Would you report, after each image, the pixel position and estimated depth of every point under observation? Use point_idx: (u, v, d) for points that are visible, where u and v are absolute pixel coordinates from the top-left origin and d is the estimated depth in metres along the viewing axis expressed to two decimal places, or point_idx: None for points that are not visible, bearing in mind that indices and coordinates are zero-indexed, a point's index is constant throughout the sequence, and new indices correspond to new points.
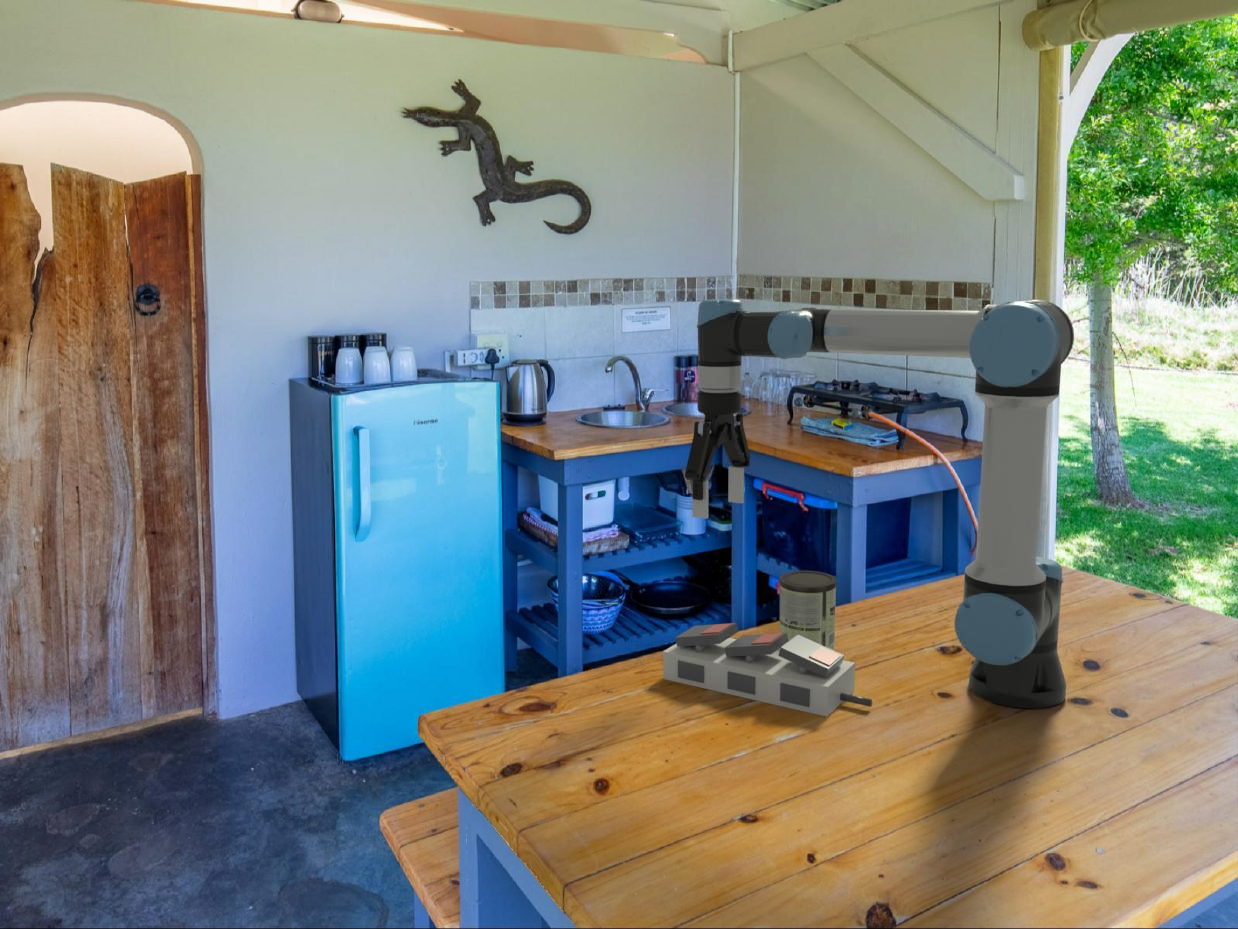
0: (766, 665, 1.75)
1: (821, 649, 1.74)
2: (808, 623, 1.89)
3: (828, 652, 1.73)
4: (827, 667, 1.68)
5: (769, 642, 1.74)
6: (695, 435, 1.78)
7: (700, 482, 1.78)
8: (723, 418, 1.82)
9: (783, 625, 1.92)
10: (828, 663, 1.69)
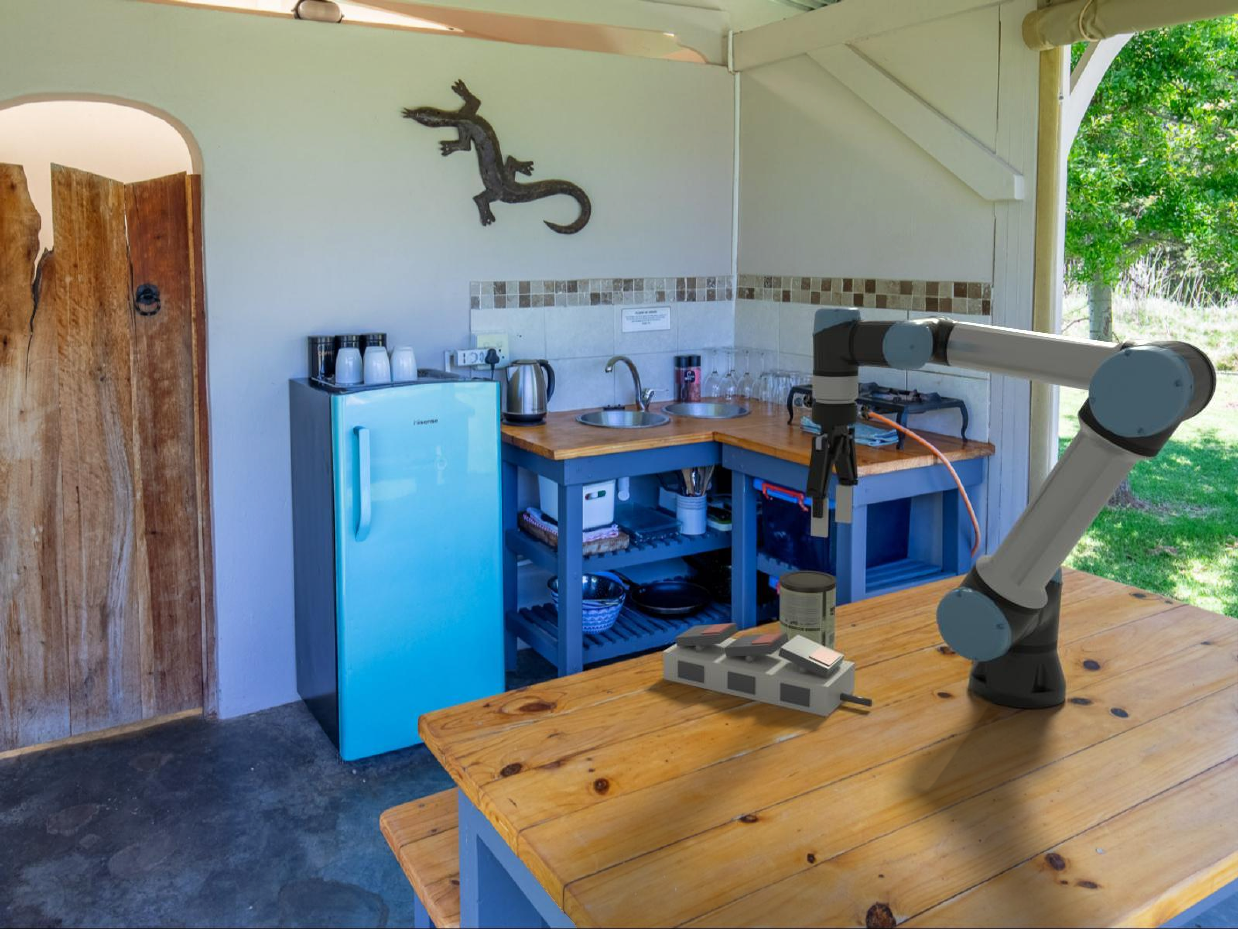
0: (766, 665, 1.75)
1: (821, 649, 1.74)
2: (808, 623, 1.89)
3: (828, 652, 1.73)
4: (827, 667, 1.68)
5: (769, 642, 1.74)
6: (812, 450, 1.73)
7: (821, 500, 1.73)
8: (839, 429, 1.76)
9: (783, 625, 1.92)
10: (828, 663, 1.69)
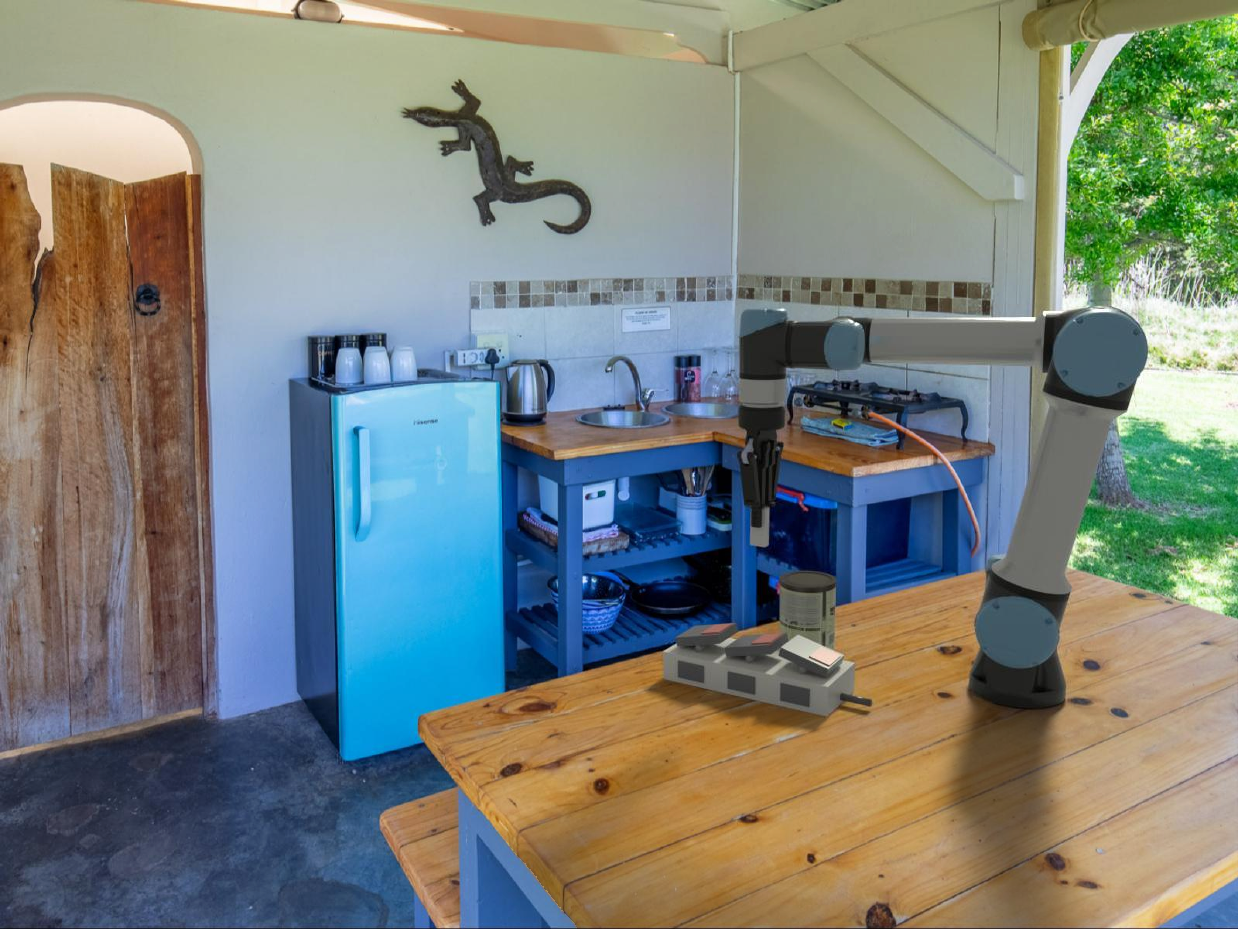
0: (766, 665, 1.75)
1: (821, 649, 1.74)
2: (808, 623, 1.89)
3: (828, 652, 1.73)
4: (827, 667, 1.68)
5: (769, 642, 1.74)
6: (741, 464, 1.69)
7: (759, 509, 1.72)
8: (766, 434, 1.71)
9: (783, 625, 1.92)
10: (828, 663, 1.69)
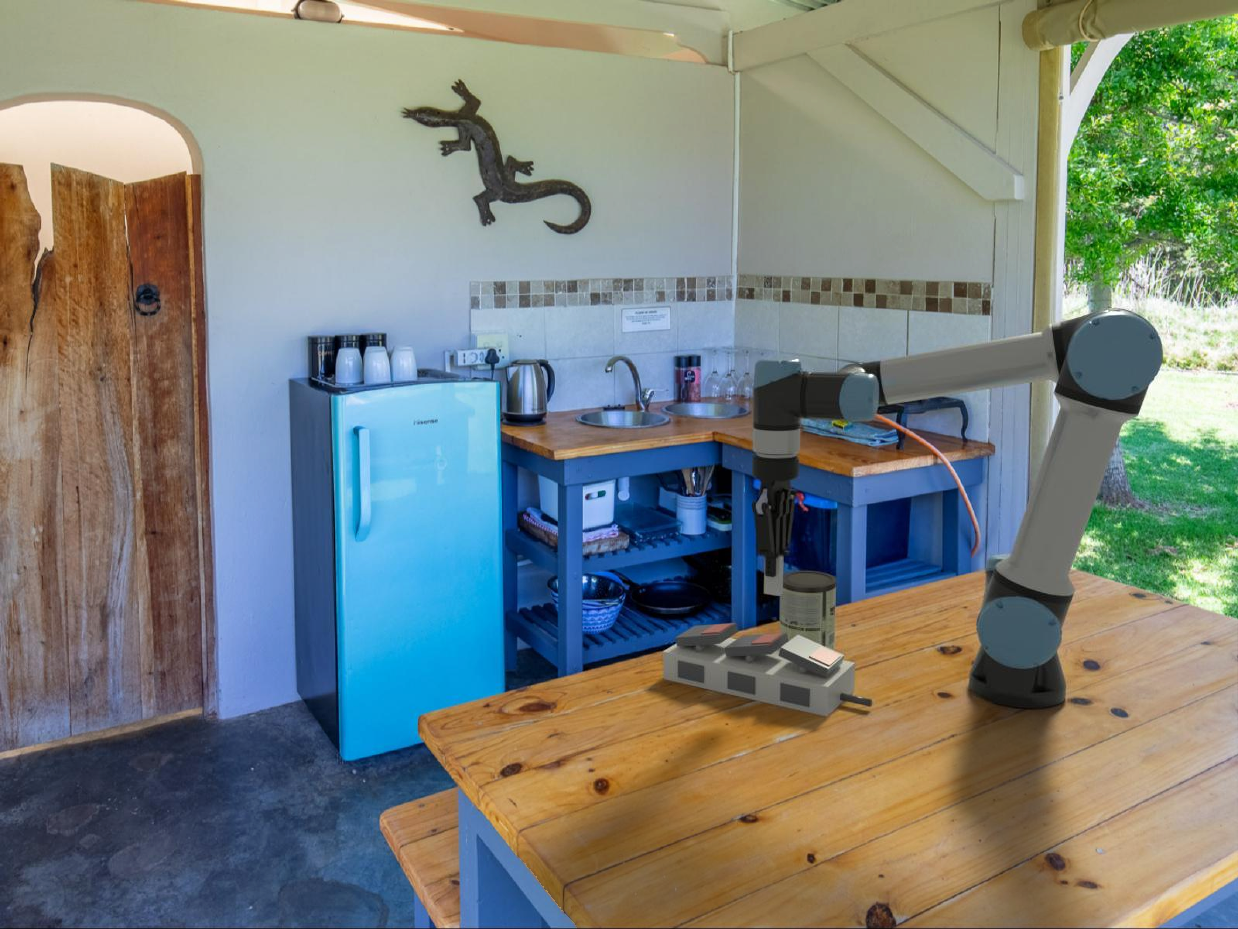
0: (766, 665, 1.75)
1: (821, 649, 1.74)
2: (808, 623, 1.89)
3: (828, 652, 1.73)
4: (827, 667, 1.68)
5: (769, 642, 1.74)
6: (755, 515, 1.69)
7: (773, 559, 1.72)
8: (780, 484, 1.71)
9: (783, 625, 1.92)
10: (828, 663, 1.69)
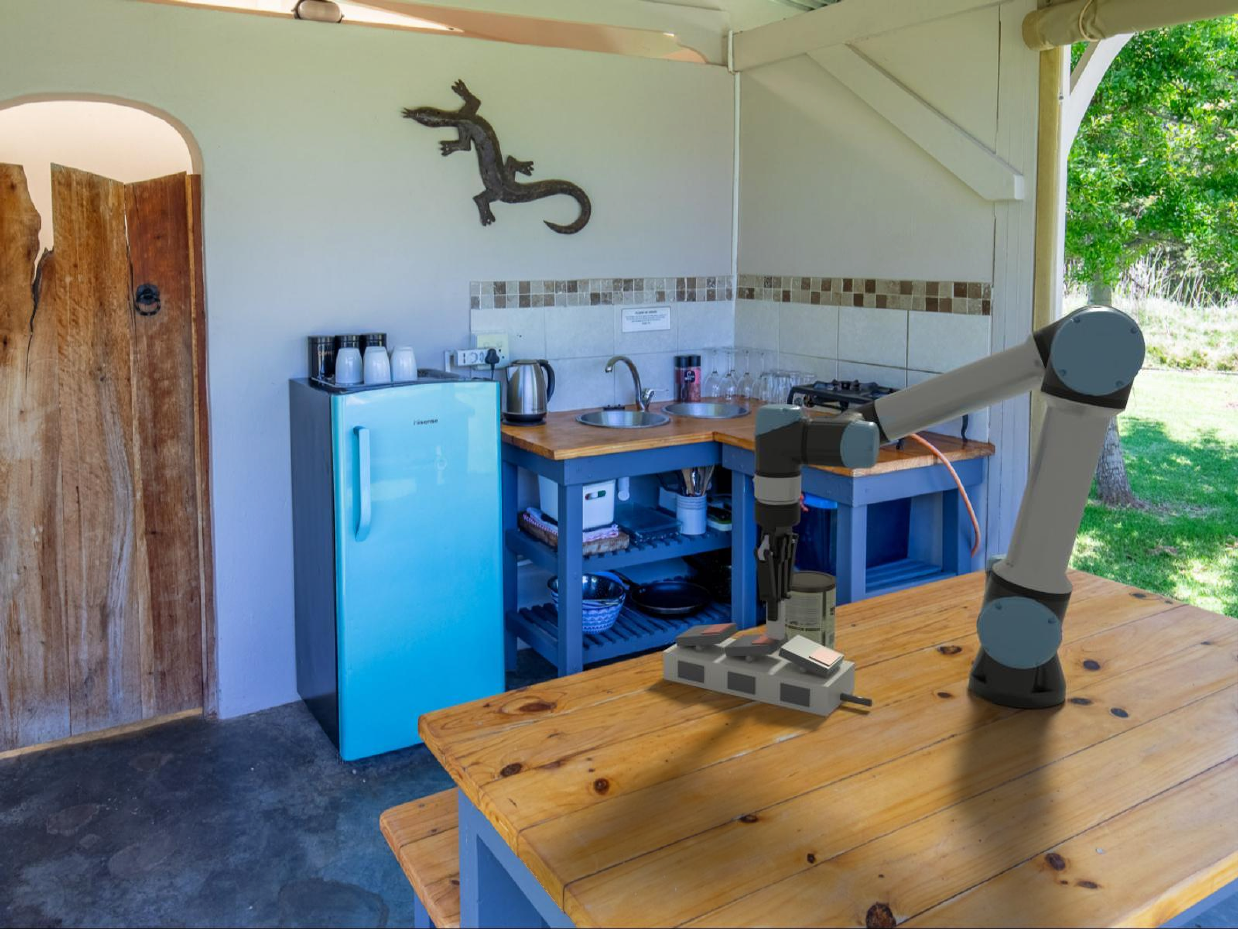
0: (766, 665, 1.75)
1: (821, 649, 1.74)
2: (808, 623, 1.89)
3: (828, 652, 1.73)
4: (827, 667, 1.68)
5: (769, 642, 1.74)
6: (757, 561, 1.70)
7: (775, 604, 1.73)
8: (781, 530, 1.72)
9: None
10: (828, 663, 1.69)
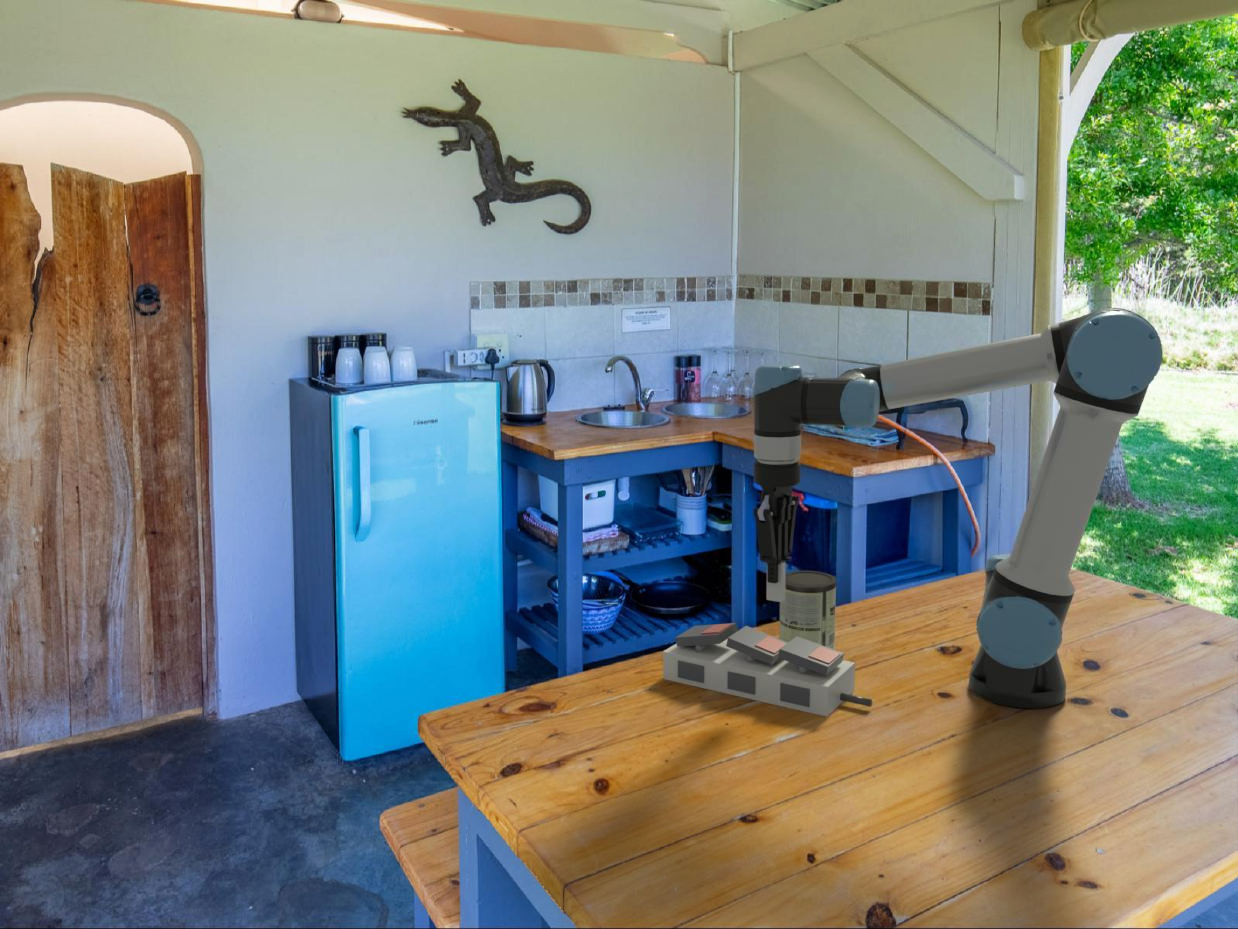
0: (766, 665, 1.75)
1: (821, 649, 1.74)
2: (808, 623, 1.89)
3: (827, 651, 1.73)
4: (827, 665, 1.68)
5: (773, 652, 1.74)
6: (757, 521, 1.69)
7: (775, 565, 1.72)
8: (781, 490, 1.71)
9: (783, 625, 1.92)
10: (827, 661, 1.69)
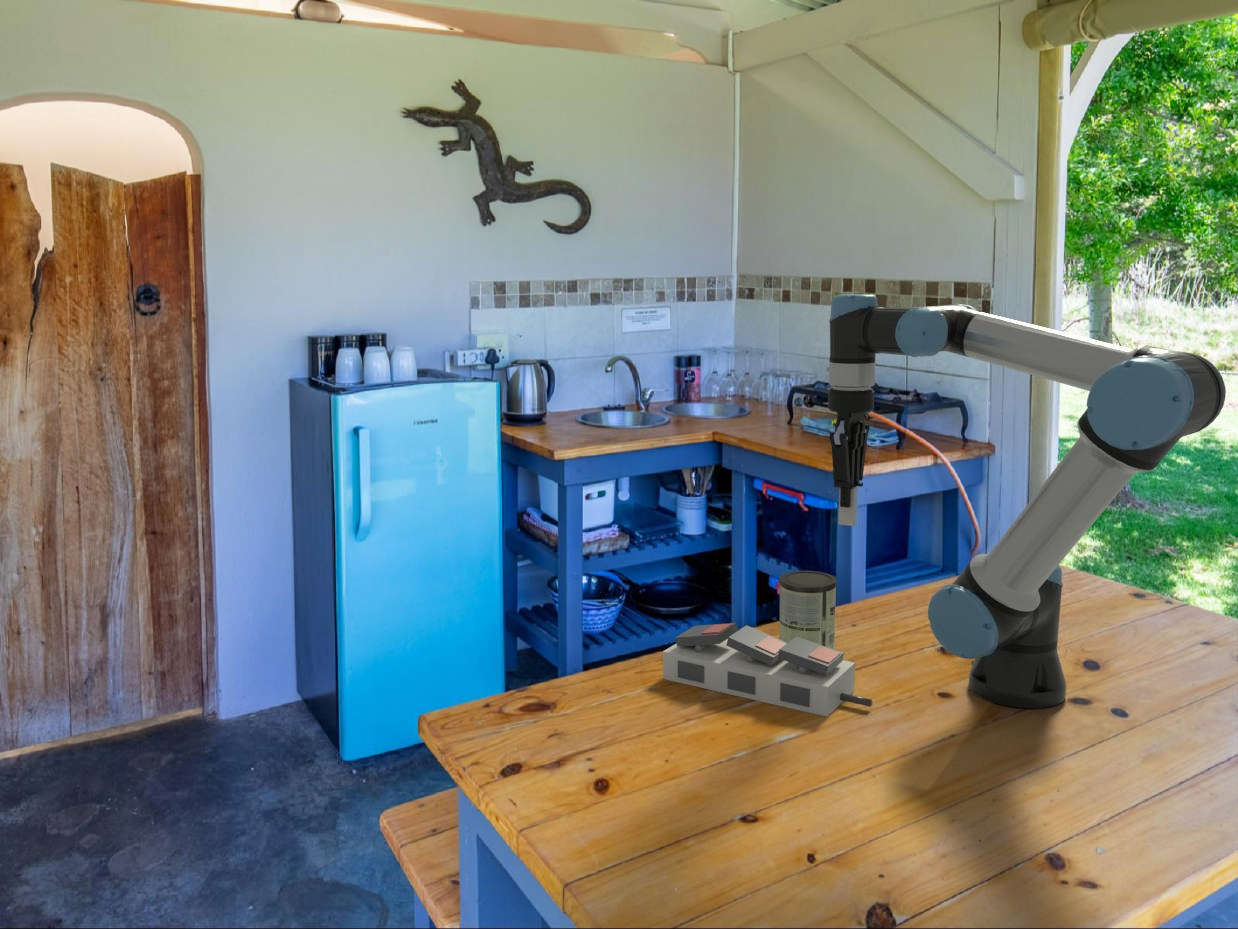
0: (766, 665, 1.75)
1: (821, 648, 1.74)
2: (808, 623, 1.89)
3: (827, 650, 1.73)
4: (827, 664, 1.68)
5: (773, 653, 1.74)
6: (832, 446, 1.74)
7: (848, 490, 1.78)
8: (855, 417, 1.76)
9: (783, 625, 1.92)
10: (827, 660, 1.69)
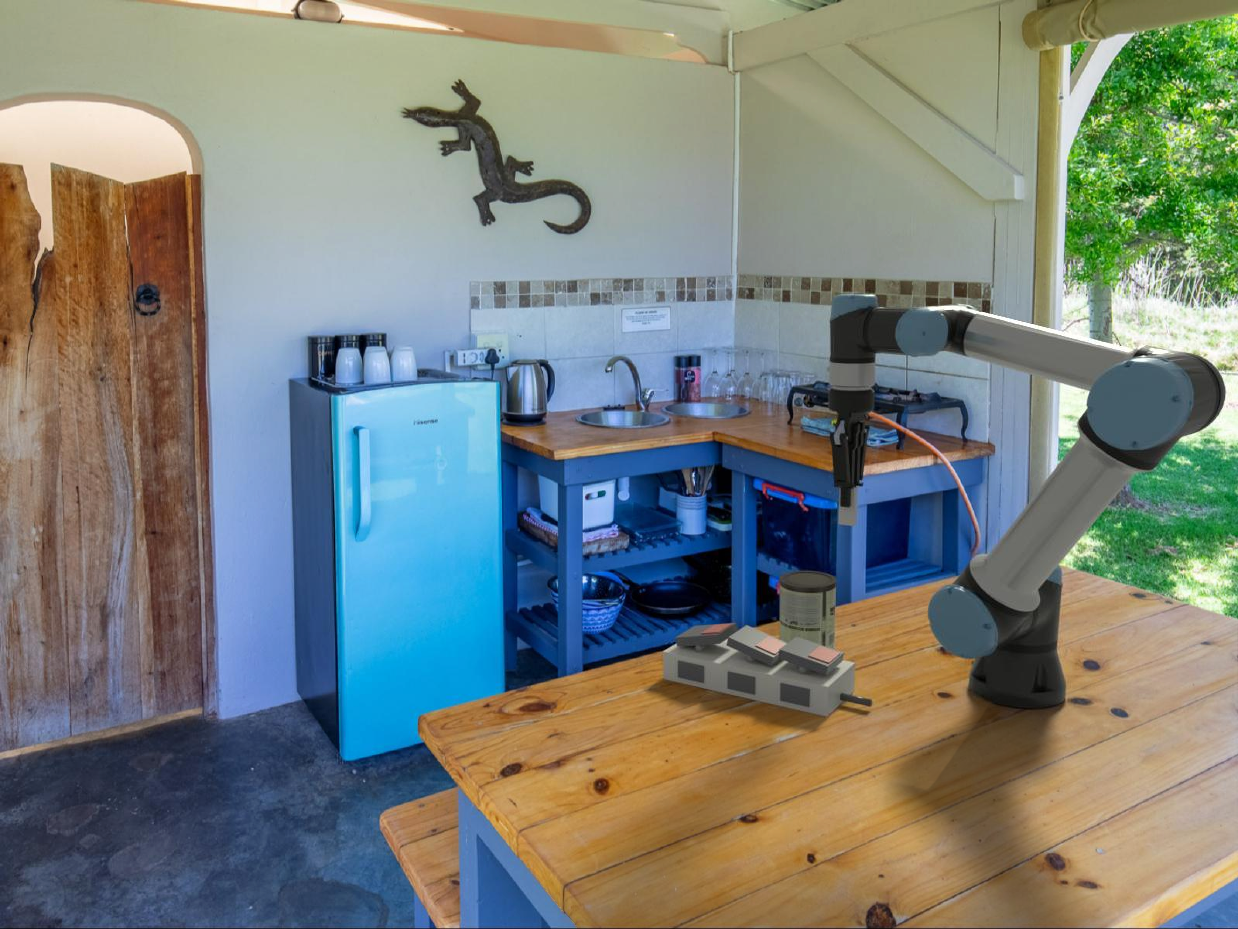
0: (766, 665, 1.75)
1: (821, 648, 1.74)
2: (808, 623, 1.89)
3: (827, 650, 1.73)
4: (827, 664, 1.68)
5: (773, 653, 1.74)
6: (832, 445, 1.74)
7: (848, 489, 1.78)
8: (855, 416, 1.76)
9: (783, 625, 1.92)
10: (827, 660, 1.69)
